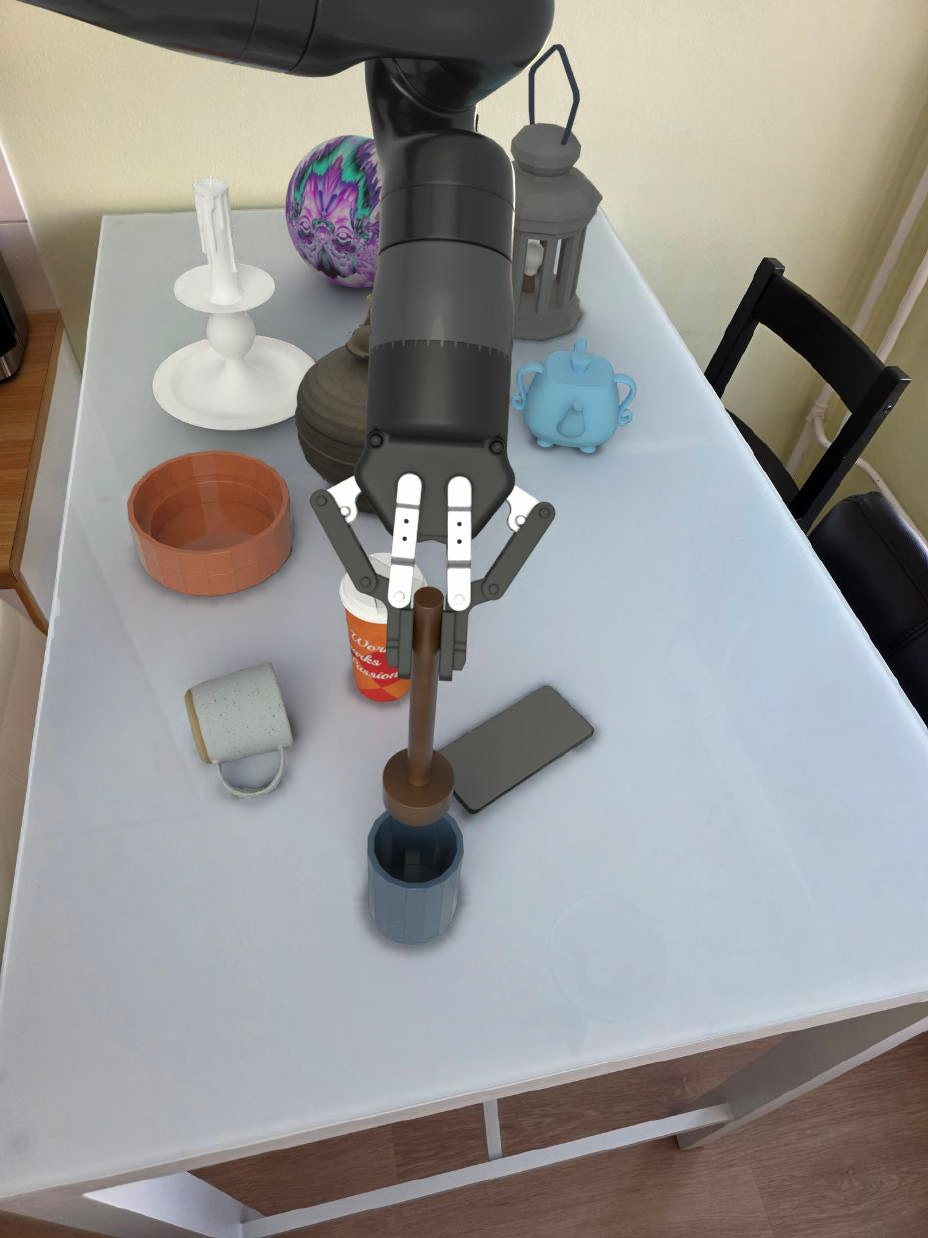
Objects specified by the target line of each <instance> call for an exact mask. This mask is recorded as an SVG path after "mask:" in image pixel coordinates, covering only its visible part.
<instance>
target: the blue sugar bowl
mask: <svg viewBox="0 0 928 1238" xmlns="http://www.w3.org/2000/svg"><path fill="white" fill-rule="evenodd" d="M587 347H588V341H587V339H586V338H583V337H578V338H577V339H576V340H575V341H574V345H573V350H557V351H554V352H551V353H550V354H548V356H546V357H545V359H544V360H543V362H542V363H538V362H528V363H525V364H523V365H521V366H520V368H519V369H518V371H517V372H516V386H517V388H518V392H517V393H515V394H513V395H512V397H511V398H510V404H511V406H512V408H513V409H515V410H517V411H519V412H520V411H523V417H524V421H525V424H526V426H527V428H528V430H529V431H530V433H531V434H532V435H533V436H534V437H535V438H537V439H536V444H537V445H538V446H539V447H542V448H550V447H553V446H554V445H557V446H561V447H566V448H578V449H579V450H580V451H581V452H583V453H586V454H591V453H594V452H595V451H596V450H597V447H598V446H600V445H602V444H604V443H605V442H607V441H608V440H610V438H612V436H613V435H614V434H615V432H616V430H617V427H618V424H619V425H627V424H629V423H631V421H632V420H633V417H634V414H633V411H632V410H631V409H630V408H628V407H629V406H630V405H631V403H632V402H633V400H634V398H635V397H636V394H637V389H638V388H637V383H636V381H635V380H634V378H632V377H631V376H629V375H627V374H625V373H615V371H614V368H613V365H612V363H611V362H610V361H609V360H608V359H607V358H605V357H603V356H601V355H598V354H594V353H590V352H587V349H588V348H587ZM529 372H532V373H533V372H534V375H533V377H532V379H531V381H530V384H529V386H528V389H526V386H525V382H524V375H525V374H527V373H529ZM618 383H620V384H624V385H626V386H628V387H629V391H628V393H627V395H626V397H625V398H624V399H623V400H622V402H620V392H619V386H618ZM518 400H521V401H518ZM620 403H621V404H620ZM624 415H626V416H624Z"/></svg>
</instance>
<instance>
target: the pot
mask: <svg viewBox="0 0 928 1238" xmlns="http://www.w3.org/2000/svg"><path fill="white" fill-rule="evenodd" d="M350 334H351V336H350V337H349V339H348V341H346V342H345V344H344V345H341V346H339V347H337V348H335V349H333V350H331V351H330V352H327V354H325V355H323V356H321V357H320V358H319V359H318V360H316V362H315V364H314V365H313V366H312V367H310V368H309V370H308V371H307V372H306V374H305V375H304V377H303V379H302V381H301V383H300V385H299V388H298V392H297V407H296V410H295V415H294V424H295V428H296V431H297V437H298V439H297V440H298V444H299V446H300V448H301V450H302V453H303V456H304V458H305V461H306V462H307V463H308V465H309V466H310V467H311V468H312V469H313V470H314V471H315V472H316V473H317V474H318V475H319V476H320V477H321V478H322V480H323V481H326V482H327V483H328V484H330V485H333V487H334V486H335V485H337V484H339V483H341V482H343V481H345V480H347V479H349V478H350V477H352V476H354V468H355V465H356V463H357V461H358V460H359V458H360V456H361V454H362V452H363V450H364V446H365V435H366V412H367V389H368V365H369V334H370V325H366V326H362V327H359V326H358V327H356V328H355V329H354V330H353V332H352V331H350V332H349V333H348V334H347V335H346V336H345V338H348V336H349V335H350ZM356 505H357V508H358V513H359V512H360V513H364V514H368V515H370V514H371V515H376V513H375V512H374V510H373V509H372V507H371V506H370V504H369V503H368V501H367V500H366V498H365V497H364V495H363V494H362V493H361V494H360V495H359V496H358V498H357V502H356Z"/></svg>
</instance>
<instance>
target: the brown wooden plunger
mask: <svg viewBox="0 0 928 1238" xmlns="http://www.w3.org/2000/svg"><path fill="white" fill-rule="evenodd" d="M444 609H445V595H444V593H443V591H441V590H440V589H439V588H437V587H434V586H428V585H427V586H426V587H422V588H420V589H418V590H417V591H416V592H415V594H414V597H413V610H414V617H413V642H412V664H411V680H410V689H409V703H408V704H409V706H408V707H409V708H408V729H407V730H408V732H407V747H405V748H403V749H400V750H399V751H396V753H394V754H393V755H392V756H390V758H389V759H388V760H387V762H386V763H385V765H384V766H383V767H384V768H383V771H382V779H381V780H382V782H381V783H382V785H381V787H382V791H381V792H382V802H383V805H384V807H385V809H386V810H387V811H388V812H389V814H390V815H391V816H392V817H393V818H395V819H396V820H398V821H399V822H401V823H404V824H407V825H411V826H425V825H429V824H432V823H434V822H436V821H438V820H439V819H441V818H442V817H443V816H444V815H445V814H446V813H448V812H449V810H450V808H451V806H452V803H453V799H454V795H453V790H454V782H455V775H454V770H453V768H452V765H451V764H450V762H449V761H448V759H447V758H446V757H445V756H444V755H442V754H441V753H440V752H439V751H438V750H436V749H434V740H435V739H434V738H435V726H436V712H437V699H438V689H439V688H438V685H439V655H440V639H441V625H442V612H443V610H444Z"/></svg>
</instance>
